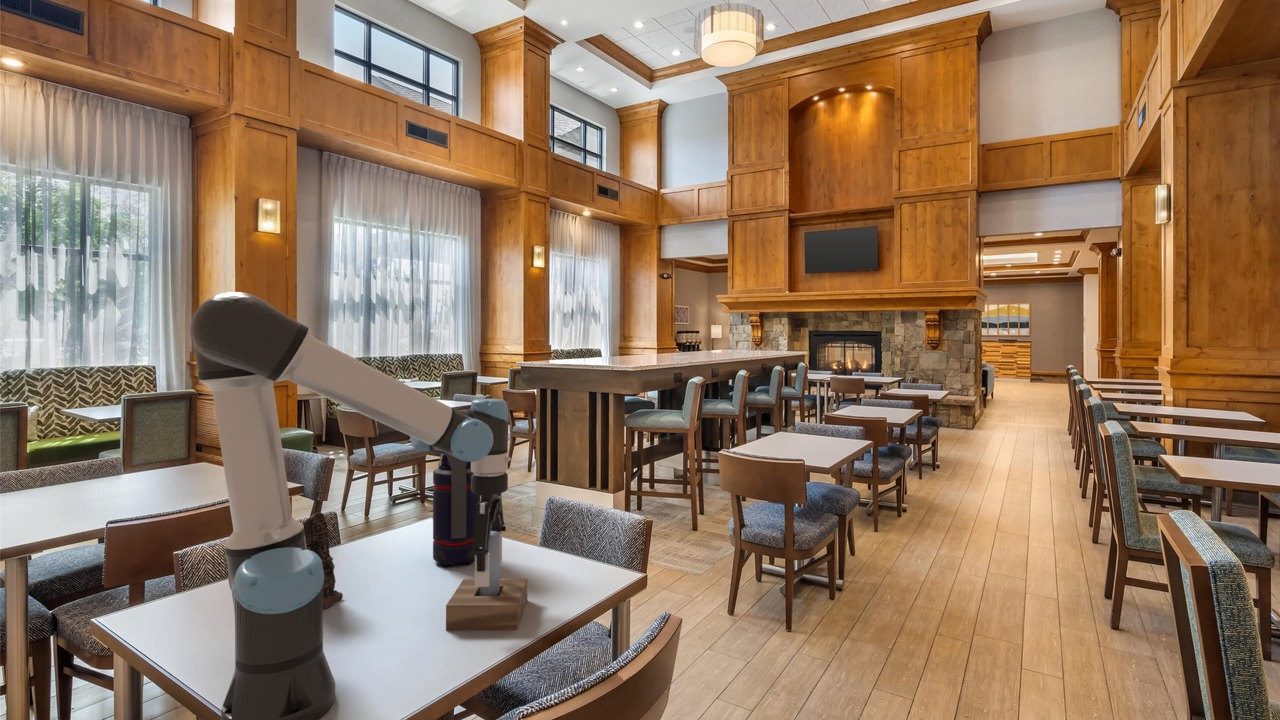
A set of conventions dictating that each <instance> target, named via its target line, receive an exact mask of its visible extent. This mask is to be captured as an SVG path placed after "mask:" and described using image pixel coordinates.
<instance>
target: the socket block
mask: <svg viewBox="0 0 1280 720" xmlns="http://www.w3.org/2000/svg"><path fill="white" fill-rule="evenodd" d="M527 602H528V577H523V578H522V577H519V578H518V577H517V578H516V577H513V578H509V577H508V578H507V577H505V578H504V577H500V595H499V596H480V587H475V578H463V579H462V581H461V582H460V583H459V585H458V586H457V588H456V590H455V591H454V593H453V594H452V596H451V597H450V599H449V600H448V602H447V603H446V604H445V631H517V630H518V628H519V625H520V622H521V621H522V620H521V619H522V616H523V614H524V611H525V608H526V605H527Z"/></svg>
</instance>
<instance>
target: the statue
mask: <svg viewBox="0 0 1280 720" xmlns="http://www.w3.org/2000/svg"><path fill="white" fill-rule="evenodd" d="M301 523H302V524H303V526H304V533H305V539H306V546H307V549H308V550H311V551H313V552H315V553H316V554H317V555H318V556H319V557H320V558H321V561H322V567H323V570H324V583H323V611H324V610H325V609H328V608H330V607H331V606H333V605H334V604H336V603H338V602H339V601H341V600H342V599H343V596H344V595H343V593H342V592H339V591H338V590H336V589H335V585H336V577H335V574H334V573H335V572H334V571H335V564H334V562H333V560H334V558H333V557H332V556H331V554H330V541H329V538H330V532H329V528H328V522H327V520H326V518H325V515H324V513H322V512H314V513H313V514H311V516H309V517H308V518H307V519H305V520H304V521H303V522H301Z"/></svg>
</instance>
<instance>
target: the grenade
mask: <svg viewBox="0 0 1280 720" xmlns="http://www.w3.org/2000/svg"><path fill="white" fill-rule="evenodd" d="M472 474H474V473H472V472H471V462H468V461H462V460H460V459H458V458H456V457H454V456H452V455H450V454H447V453H445V452H443V451H441V453H440V458H439V460H438V464H437V467H436V469H434V470H433V471H432V481H433V482H432V484H433V487H432V539H433V541H432V559H433V560H434V562H436V563H439V564H438V565H439V567H440V568H441V567H442V568H448V567H447V566H448V565H449V564H451V565H453V564H461V563H468V565H471V564H472V563H473V564H475V563H474V562H475V555H471V554H470V551H472V549H473V539H474V530H475V520H476V505H477V503H478V502H481V495H479V494H475V493H473V492H472V491H471V476H472ZM479 548H480V547H479Z"/></svg>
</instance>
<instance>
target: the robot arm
mask: <svg viewBox="0 0 1280 720" xmlns="http://www.w3.org/2000/svg"><path fill="white" fill-rule="evenodd" d="M189 333H190V334H189V335H190V339H191V342H192V344H193V345H192V346H193V351H194V356H195V363H196V369H197V375H198V382H199V383H201V384H202V385H204V386H206V387H207V388H209V389H210V390H211V392H212V399H213V404H214V410H215V418H216V425H217V431H218V436H219V444H220V445H219V446H220V450H221V451H220V452H221V456H222V457H221V458H222V463H223V470H224V477H225V483H226V491H227V496H228V502H229V503H228V504H229V510H230V516H231V522H232V529H233V530H232V533H231V534H230V535H229V536H228V538H227V539H226V540H225V542H224V550H225V557H226V562H227V563H226V565H227V570H228V575H227V577H228V578H227V579H228V585H229V588H230V591H231V597H232V602H233V603H232V604H233V611H234V638H235V639H234V649H235V650H234V652H235V653H234V657H235V660H234V661H235V662H234V663H235V664H234V665H235V666H234V667H235V668H234V673H233V676H232V678H231V681H230V683H229V686H228V690H227V692H226V695H225V698H224V701H223V704H222V706H221V711H220V715H221V716H220V720H319V719H321V717H323V716H324V715H325V714H327V712H328V711H330V709H331V708H332V707H333V705H334V704H335V700H336V681H335V678H334V675H333V673H332V671H331V668H330V666H329V663H328V660H327V657H326V655H325V652H324V610H323V583H324V570H323V567H322V561H321V558H320V557H319V556H318V555H317V554H316V553H315V552H313V551H311V550H308V549H307V546H306V539H305V533H304V526H303V524H302V523H303V522H300V521H299V520H297V519H295V518H294V517H293V515H292V506H291V501H290V493H289V487H288V485H289V484H288V479H287V472H286V465H285V459H284V452H283V445H282V437H281V430H280V424H279V416H278V409H277V403H276V402H277V401H276V395H275V388H274V383H280V382H283V381H288V382H291V383H293V384H295V385H297V386H299V387H302V388H304V389H306V390H308V391H311V392H313V393H315V394H317V395H319V396H321V397H323V398H326V399H328V400H330V401H332V402H334V403H336V404H339V405H341V406H343V407H346V408H348V409H350V410H352V411H354V412H357V413H359V414H360V415H363V416H365V417H367V418H370V419H373V420H374V421H376V422H379V423H381V424H383V425H385V426H387V427H389V428H392V429H393V430H395V431H398V432H401V433H402V434H405V435H407V436H409V437H410V439H409V440H410V443H411V446H412V448H413V449H414V450H415V451H416V452H417V451H418V452H419V451H420V452H421V451H427V452H431V451H435V450H436V451H437V450H438V451H443V452H445V453H447V454H450V455H452V456H454V457H456V458H458V459H460V460H462V461H468V462H471V472H472V473H474V474H472V476H471V491H472V492H473V493H475V494H479V495H480V502H478V503H477V505H476V520H475V530H474V539H473V549H472V551H470V554H471V555H475V563H474V579H475V587H489V553H488V548H489V541H490V534H491V531H497V532H499V533H500V564H502V563H503V532H506V530H507V526H506V525H505V520H504V511H503V501H502V500H503V499H502V498H503V497H502V494H503V493H505V492H507V491H508V488H509V474H508V473H507V471H508V470H509V468H508V467H509V466H508V462H510V461H511V460H512V459H511V457H510V456H508V455H509V454H508V453H509V447H508V446H509V445H508V444H509V422H510V419H509V409H508V407H509V406H508V403H507V402H506V401H505V400H504V399H502V398H480V399H479V398H476V399H473V400H472V401H471V405H470V409H464V410H457V409H455V408H452V407H451V406H450V405H447V404H445V403H443V402H442V401H440V400H438V399H435V398H433V397H431V396H430V395H427V394H426V393H424V392H422V391H419V390H418V389H415V388H414V387H411V386H410V385H408V384H406V383H404V382H402V381H401V380H398V379H396V378H395V377H392V376H390V375H388V374H386V373H384V372H382V371H380V370H379V369H376V368H374V367H373V366H371V365H368V364H366V363H365V362H363V361H361V360H359V359H356V358H355V357H353V356H351V355H348V354H347V353H345V352H343V351H341V350H339V349H337V348H335V347H333V346H331V345H329V344H327V343H325V342H323V341H321V340H319V339H317V338H316V337H314V335H313V332H312V329H311V328H310V327H308V326H307V325H304V324H302V323H300V322H299V321H297V320H295V319H294V318H292V317H290V316H288V315H287V314H286V313H283V312H282V311H280V310H279V309H277V308H276V307H274V306H273V305H271V303H269V302H267V301H265V300H264V299H262V298H260V297H259V296H256V295H253V294H251V293H247V292H241V291H229V292H223V293H219V294H217V295H213V296H211V297H210V298H208V299H206V300H205V301H204V302H202V303H201V305H199V306H198V307H197V310H195V312H194V314H193V316H192V320H191V322H190V327H189ZM479 547H482V548H479Z"/></svg>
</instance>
